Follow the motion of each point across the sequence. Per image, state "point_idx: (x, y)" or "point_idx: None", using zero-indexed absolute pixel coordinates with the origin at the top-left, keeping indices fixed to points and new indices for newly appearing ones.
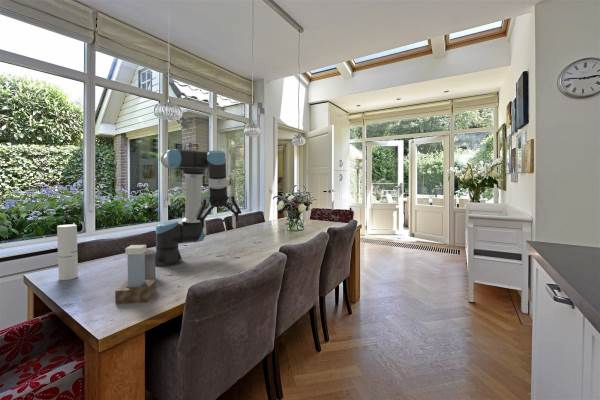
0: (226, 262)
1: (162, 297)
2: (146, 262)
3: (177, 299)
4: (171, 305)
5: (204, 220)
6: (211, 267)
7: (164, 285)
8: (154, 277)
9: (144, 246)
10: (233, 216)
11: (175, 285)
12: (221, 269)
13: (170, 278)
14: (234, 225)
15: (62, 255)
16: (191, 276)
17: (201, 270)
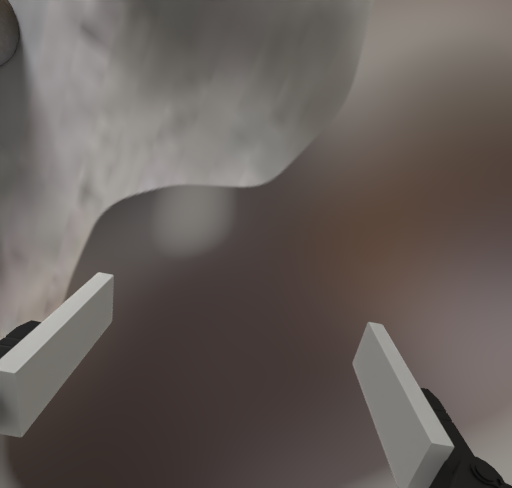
0: (366, 16)
1: (8, 262)
2: None
3: (49, 306)
4: None
5: (8, 422)
6: (278, 45)
7: (38, 147)
8: (4, 51)
9: None
10: (405, 472)
11: (76, 174)
12: (300, 102)
13: (79, 77)
14: (364, 391)
15: None
16: (162, 109)
17: (226, 57)
